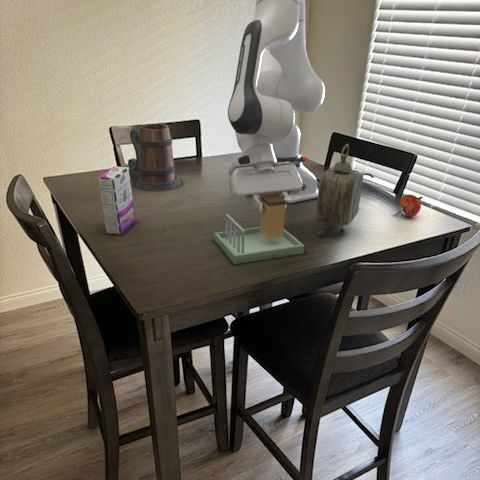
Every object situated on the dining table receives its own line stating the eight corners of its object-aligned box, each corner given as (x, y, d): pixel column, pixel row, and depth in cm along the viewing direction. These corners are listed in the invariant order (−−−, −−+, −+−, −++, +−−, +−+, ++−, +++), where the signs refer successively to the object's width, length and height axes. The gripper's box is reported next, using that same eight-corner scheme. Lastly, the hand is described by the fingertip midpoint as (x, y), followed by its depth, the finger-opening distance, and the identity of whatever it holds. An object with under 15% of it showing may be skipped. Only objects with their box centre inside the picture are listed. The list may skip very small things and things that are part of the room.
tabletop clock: (327, 221, 149) (338, 137, 136) (356, 226, 146) (370, 141, 132) (313, 237, 138) (323, 148, 125) (343, 243, 135) (357, 152, 121)
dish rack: (277, 231, 142) (279, 204, 137) (303, 253, 129) (306, 224, 125) (214, 240, 135) (213, 212, 131) (234, 264, 123) (235, 234, 118)
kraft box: (275, 229, 134) (278, 194, 129) (283, 236, 131) (286, 200, 125) (259, 231, 133) (261, 196, 127) (266, 238, 129) (269, 202, 124)
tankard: (190, 182, 179) (188, 126, 168) (157, 193, 168) (152, 133, 157) (147, 170, 191) (143, 117, 180) (114, 180, 180) (107, 123, 169)
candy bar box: (120, 219, 147) (113, 165, 138) (135, 221, 146) (130, 166, 137) (104, 233, 137) (96, 176, 129) (120, 235, 137) (113, 178, 128)
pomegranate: (400, 227, 152) (430, 210, 149) (389, 207, 150) (419, 190, 147) (397, 221, 159) (426, 204, 155) (387, 202, 157) (415, 185, 153)
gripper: (289, 167, 136) (302, 211, 134) (222, 172, 130) (234, 219, 127) (298, 154, 130) (312, 201, 128) (228, 160, 124) (241, 209, 121)
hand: (273, 210), depth 128 cm, fingers closed on kraft box, 5 cm apart
